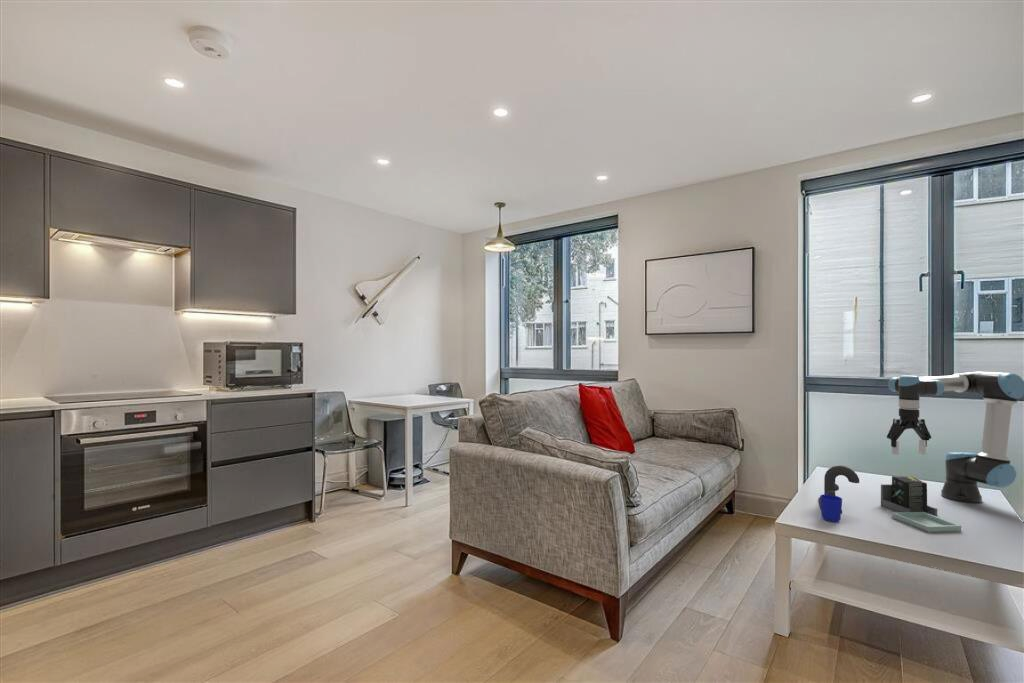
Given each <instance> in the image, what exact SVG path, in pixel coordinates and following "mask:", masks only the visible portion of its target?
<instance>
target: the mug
mask: <svg viewBox="0 0 1024 683" xmlns="http://www.w3.org/2000/svg"><path fill="white" fill-rule="evenodd" d="M819 497H820V501H821V509H820V512H821V518H822V519H823V520H825V521H828V522H832V523H838V522H840V521H841V518H842V513H841V509H842V507H843V498H842V497H840V496H839V495H836V496H834V495H827V494H821V495H819Z"/></svg>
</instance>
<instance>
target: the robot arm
mask: <svg viewBox="0 0 1024 683" xmlns="http://www.w3.org/2000/svg"><path fill="white" fill-rule="evenodd" d="M887 388H888V389H889V390H890V391H891V392H893V393H897V394H898V416H899V418H893V419H892V425H891V426H890V429H889V430H888V433H887V435H886V438H887V439H888V440H890V441H891V442H890V446H891V447H892V448H891V454H892V455H895V456H896V455H897V456H899V455H900V454H899V452H900V451H899V450H900V447H899V446H900V444H899V443H900V442H899V440H898V439H899V438H900V437H901V436H902V435H903V433H904V431H905V430H910V429H911V430H913V431H914V432H915V433H916V435H917V436H918V437H919V439H918V454H921V455H927V447H928V441H930V439H932V436H931V433H930V431H929V429H928V427H927V425H926V420H925V419H924V418H920V410H919V409H920V397H923V396H924V397H925V396H927V397H928V396H930V397H936V396H941V395H942V394H943V393H944V392H955V393H966V394H967V393H968V394H974V395H981V396H982V399H983V400H984V401H985V402H986V404H985V405H986V406H985V414H984V422H983V431H982V440H981V447H980V448H981V449H980V452H978V453H975V452H965V451H963V452H960V451H959V452H958V451H951V452H947V453H946V454H945V482H944V484H943V486H942V489H941V491H940V493H941V494H940V495H941V497H943V498H946V499H949V500H952V501H957V502H962V503H971V504H972V503H973V504H977V503H978V504H980V503H983V496H982V495H981V492H980V490H979V487H978V483H979V484H984V485H986V486H987V485H988V486H990V487H996V488H1000V489H1001V488H1006V487H1009V486H1011V485H1012V484H1013V483H1014V482H1015V481H1016V478H1017V470H1016V468H1015V466H1014V465H1012V464H1011V459H1010V458H1009V457H1008V456H1007V452H1008V451H1007V450H1008V442H1009V434H1010V433H1009V432H1010V424H1011V415H1012V407H1013V405H1015V404H1017V403H1018V399H1021V398H1023V396H1024V379H1023V378H1022V376H1020V375H1018V374H1016V373H1013V372H1012V373H1011V372H1005V371H1004V372H998V371H982V370H980V371H970V372H960V373H959V372H958V373H953V374H952V375H940V376H939V375H938V376H919V375H907V374H905V375H903V374H902V375H900V376H897V377H896V376H895V377H892V378H890V379H889V380H888V383H887Z"/></svg>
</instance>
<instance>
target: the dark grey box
mask: <svg viewBox="0 0 1024 683" xmlns="http://www.w3.org/2000/svg"><path fill="white" fill-rule="evenodd" d="M891 484H892V503H895V504H898V505H900V506H903V507H906V508H908V509H911V512H925V513H927V505H928V483H927V482H925V481H922V480H920V479H918V478H915V477H912V476H893V475H892V476H891Z"/></svg>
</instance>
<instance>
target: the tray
mask: <svg viewBox="0 0 1024 683" xmlns="http://www.w3.org/2000/svg"><path fill="white" fill-rule="evenodd" d="M891 518H892V519H893V520H896V521H899V522H901V523H903V524H905V525H908V526H911V527H913V528H915V529H918V530H920V531H922V532H925V533H929V534H930V533H934V534H935V533H957V532H958V533H961V532H962V525H959V524H957V523H954V522H953V521H949V520H947V519H944V518H941V517H938V516H937V515H933V514H930V513H925V512H897V511H895V512H891Z"/></svg>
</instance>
